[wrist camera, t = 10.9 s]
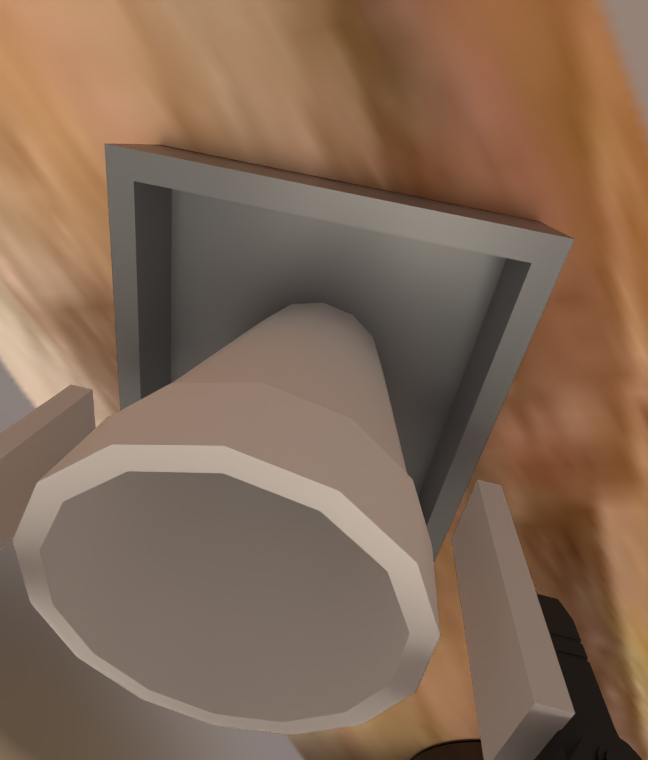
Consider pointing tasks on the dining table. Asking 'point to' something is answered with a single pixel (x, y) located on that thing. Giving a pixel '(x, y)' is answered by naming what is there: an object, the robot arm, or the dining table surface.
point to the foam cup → (245, 537)
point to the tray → (330, 290)
